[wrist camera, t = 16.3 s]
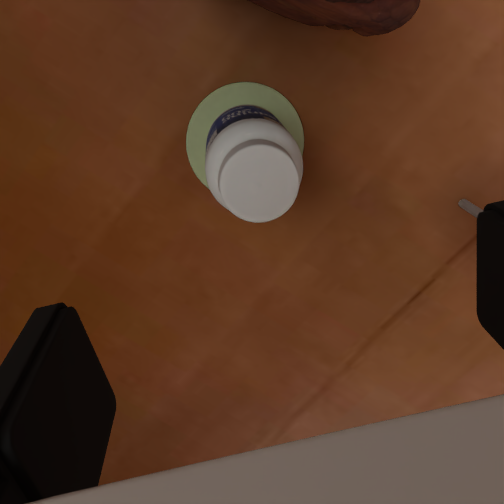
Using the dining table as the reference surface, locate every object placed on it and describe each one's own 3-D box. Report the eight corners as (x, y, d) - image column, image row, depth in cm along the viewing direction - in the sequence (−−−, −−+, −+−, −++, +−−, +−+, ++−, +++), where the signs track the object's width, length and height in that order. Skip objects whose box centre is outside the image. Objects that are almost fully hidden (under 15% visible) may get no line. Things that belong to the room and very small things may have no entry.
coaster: (172, 97, 30) (171, 97, 30) (292, 69, 30) (293, 69, 30) (203, 210, 34) (202, 212, 34) (311, 185, 34) (312, 187, 33)
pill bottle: (293, 110, 31) (326, 140, 22) (276, 188, 33) (300, 242, 24) (212, 95, 30) (213, 119, 21) (200, 175, 32) (197, 227, 24)
